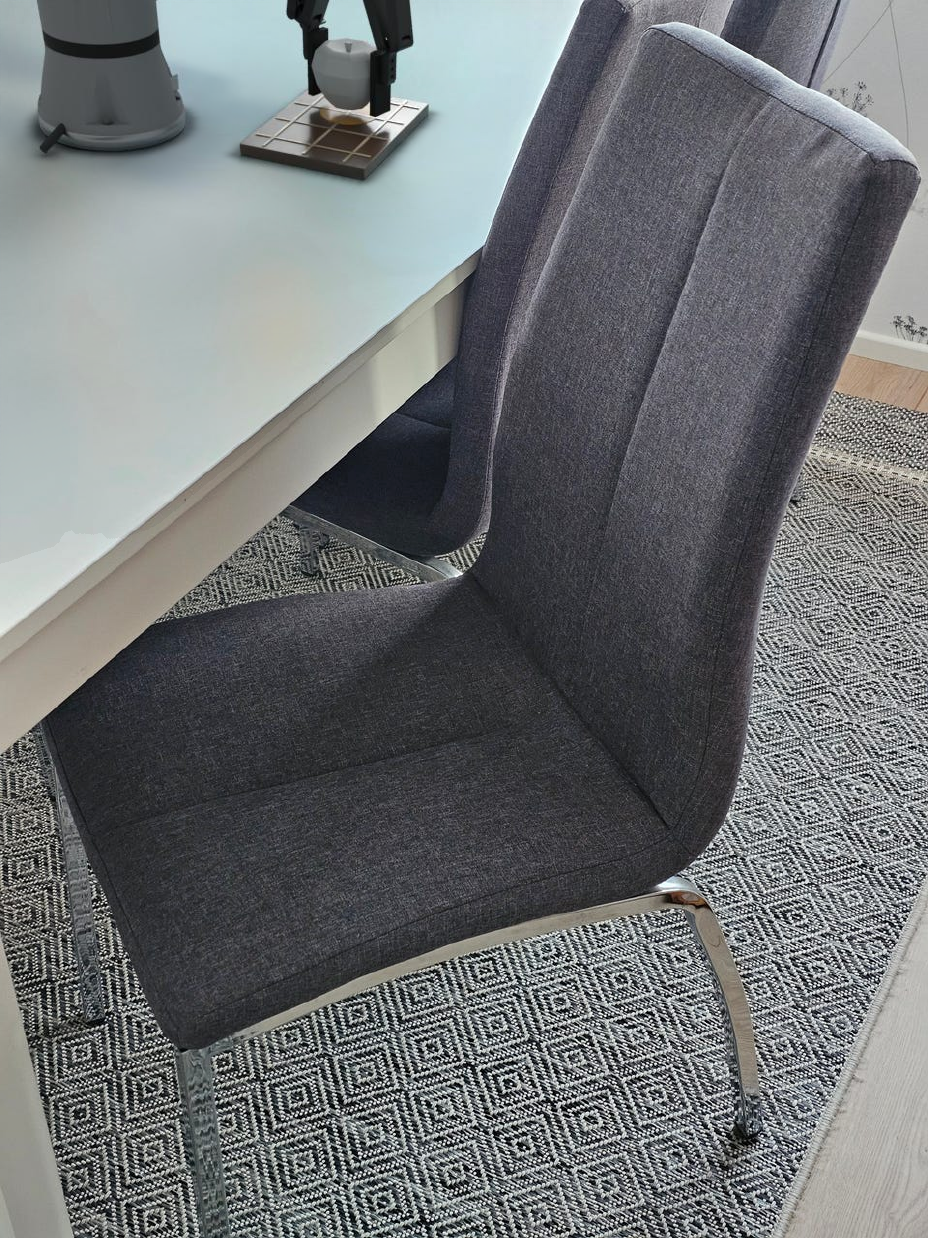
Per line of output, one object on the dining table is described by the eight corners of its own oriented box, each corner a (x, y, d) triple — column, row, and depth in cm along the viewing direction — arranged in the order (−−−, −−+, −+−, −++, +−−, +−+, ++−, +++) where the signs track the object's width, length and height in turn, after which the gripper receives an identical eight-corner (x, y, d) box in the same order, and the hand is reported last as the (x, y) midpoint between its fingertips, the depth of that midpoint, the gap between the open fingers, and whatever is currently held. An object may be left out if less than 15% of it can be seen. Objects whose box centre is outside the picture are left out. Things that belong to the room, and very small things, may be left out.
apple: (399, 105, 133) (400, 43, 129) (352, 124, 128) (352, 60, 124) (344, 86, 136) (344, 24, 132) (297, 103, 132) (295, 40, 127)
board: (364, 180, 123) (364, 167, 122) (240, 154, 126) (239, 142, 125) (428, 114, 137) (429, 102, 137) (315, 92, 140) (315, 80, 139)
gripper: (457, -122, 115) (445, 118, 131) (292, -161, 123) (299, 69, 139) (410, -110, 110) (403, 138, 126) (242, -152, 118) (255, 86, 134)
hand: (349, 102), depth 132 cm, fingers closed on apple, 8 cm apart
